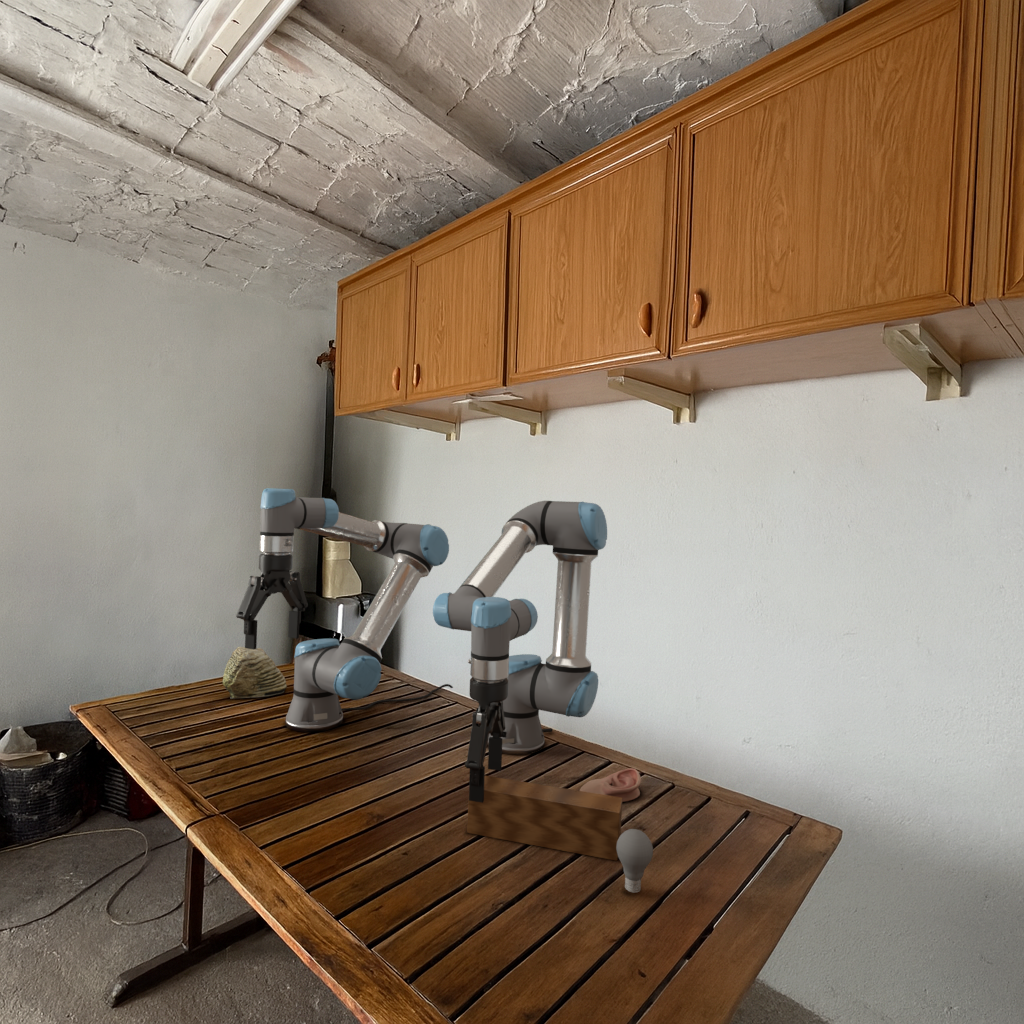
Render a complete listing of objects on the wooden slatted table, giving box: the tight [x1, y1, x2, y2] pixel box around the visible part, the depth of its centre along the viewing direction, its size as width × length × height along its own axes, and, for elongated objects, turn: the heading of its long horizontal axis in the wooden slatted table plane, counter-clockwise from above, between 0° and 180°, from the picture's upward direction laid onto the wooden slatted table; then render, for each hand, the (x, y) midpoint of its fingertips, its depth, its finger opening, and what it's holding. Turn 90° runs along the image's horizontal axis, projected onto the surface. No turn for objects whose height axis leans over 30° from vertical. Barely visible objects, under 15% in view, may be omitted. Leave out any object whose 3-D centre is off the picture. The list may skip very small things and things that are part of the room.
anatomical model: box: [579, 767, 642, 803], centre depth 142 cm, size 13×4×12 cm
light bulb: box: [616, 828, 654, 894], centre depth 106 cm, size 6×6×10 cm
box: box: [466, 775, 623, 862], centre depth 121 cm, size 29×6×9 cm, turn 75°
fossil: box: [222, 646, 288, 699], centre depth 198 cm, size 9×18×15 cm, turn 132°
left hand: (272, 643), depth 150 cm, fingers open, 13 cm apart
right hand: (486, 784), depth 125 cm, fingers open, 13 cm apart
